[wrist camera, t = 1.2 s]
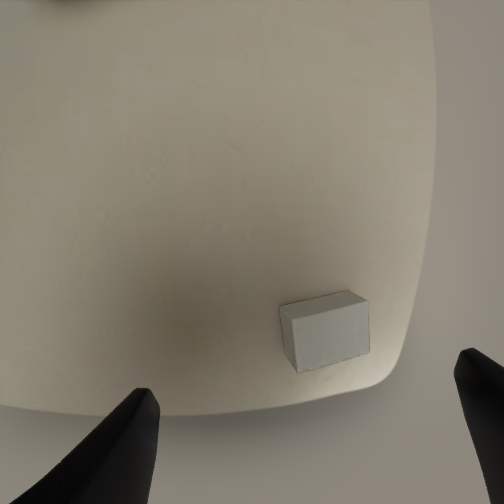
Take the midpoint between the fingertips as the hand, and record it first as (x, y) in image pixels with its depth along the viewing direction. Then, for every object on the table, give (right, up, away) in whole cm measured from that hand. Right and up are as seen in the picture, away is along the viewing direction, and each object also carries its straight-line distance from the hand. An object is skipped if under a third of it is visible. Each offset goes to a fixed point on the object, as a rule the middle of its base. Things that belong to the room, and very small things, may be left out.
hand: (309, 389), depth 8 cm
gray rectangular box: (+3, -2, +15) cm, 16 cm away
